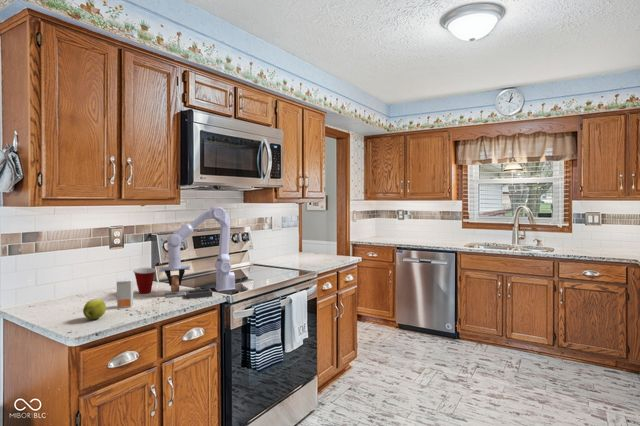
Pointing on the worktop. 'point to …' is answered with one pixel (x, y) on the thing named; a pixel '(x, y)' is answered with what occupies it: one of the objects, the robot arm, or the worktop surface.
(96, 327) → the worktop surface
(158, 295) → the worktop surface
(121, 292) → the skincare box
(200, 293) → the dark flat piece
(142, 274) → the plastic cup
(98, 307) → the apple
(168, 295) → the mat
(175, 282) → the peg
